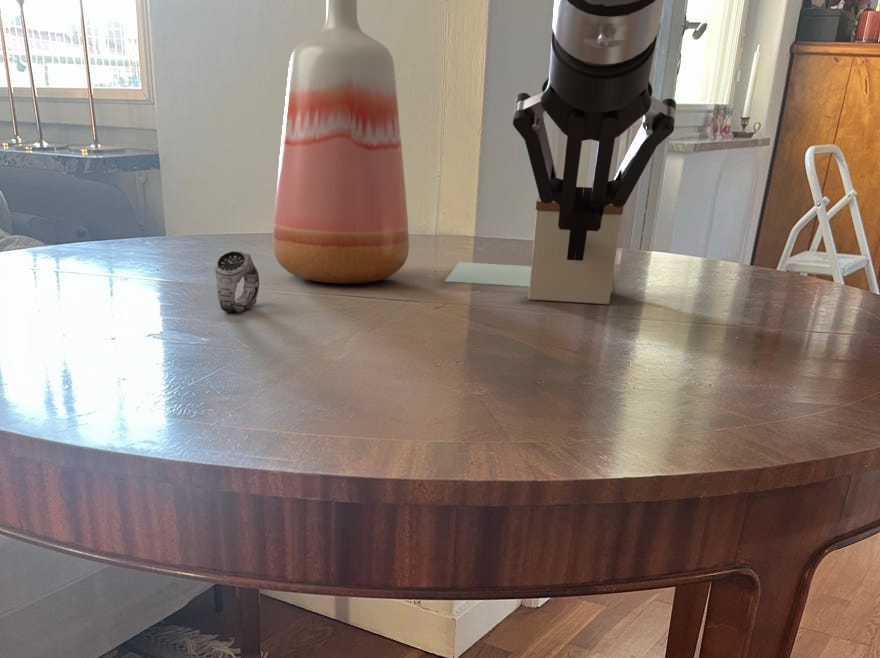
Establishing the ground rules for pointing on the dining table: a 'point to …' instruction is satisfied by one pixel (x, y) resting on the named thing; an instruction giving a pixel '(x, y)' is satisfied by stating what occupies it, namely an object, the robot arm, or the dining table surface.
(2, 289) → the dining table surface
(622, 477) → the dining table surface
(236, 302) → the wristwatch
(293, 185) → the vase
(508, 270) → the mat
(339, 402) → the dining table surface
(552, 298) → the toy box
